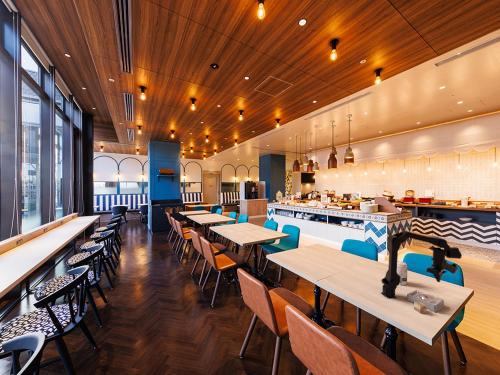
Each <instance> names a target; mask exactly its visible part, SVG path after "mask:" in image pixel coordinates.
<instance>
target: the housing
mask: <svg viewBox="0 0 500 375" xmlns="http://www.w3.org/2000/svg"><path fill="white" fill-rule="evenodd" d="M416 293H418V289H415V290H413V291H411V292H409V293H407V294H406V295H407V296H406V301H408V302H410V303H412V304H414V302H421V303H423V304H424V305H426V306H427V311H431V312H433V313H437V312H439V310H441V309H442V308H444V306H445V299H443V298H442V300H441V301H439V302H438V303H436V304H435V305H434V304H432V303H429V302H427V301H424V300H422V299H419V298H417V297H414V296H412V295H414V294H416Z"/></svg>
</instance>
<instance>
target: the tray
mask: <svg viewBox="0 0 500 375" xmlns="http://www.w3.org/2000/svg"><path fill="white" fill-rule="evenodd" d="M419 294H426V295H429V296H431V297H433V299H434V302H433V303H432V304H434V305H435V304H436V303H438V302H439V301H441V300H442V299H443V298H441V297H439V296H436V295H434V294H431V293H428V292H425V291H422V290H420V289H417V293H416V294H414V295H412V296H414V297H417V298H419Z"/></svg>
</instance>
